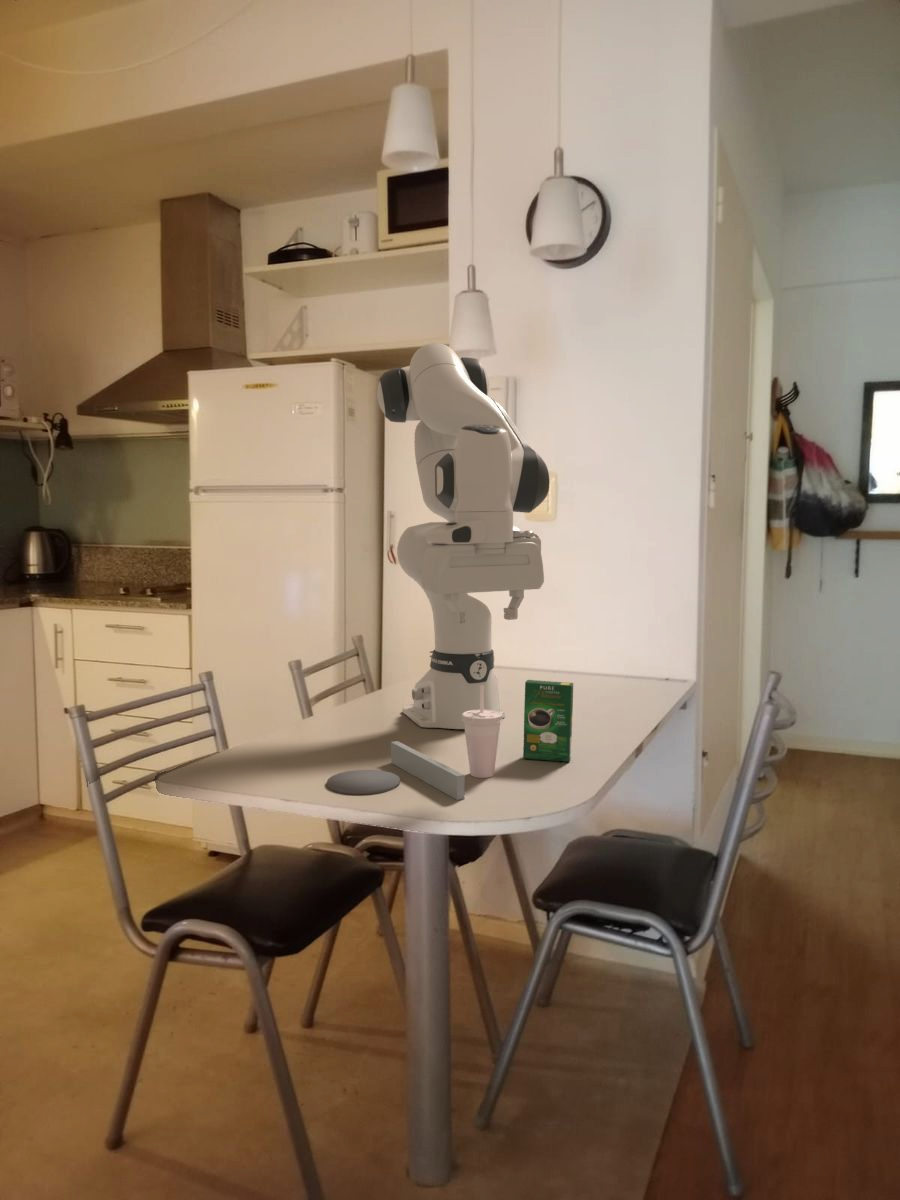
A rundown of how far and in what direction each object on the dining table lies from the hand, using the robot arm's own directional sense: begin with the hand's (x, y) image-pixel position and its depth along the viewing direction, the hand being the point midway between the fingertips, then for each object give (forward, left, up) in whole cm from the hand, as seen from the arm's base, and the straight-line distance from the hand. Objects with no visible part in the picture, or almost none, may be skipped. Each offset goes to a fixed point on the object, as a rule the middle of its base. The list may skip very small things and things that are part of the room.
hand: (485, 621), depth 139 cm
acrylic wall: (-2, -9, -24) cm, 26 cm away
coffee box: (-2, +14, -24) cm, 28 cm away
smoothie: (0, 0, -24) cm, 24 cm away
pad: (-5, -18, -24) cm, 31 cm away
